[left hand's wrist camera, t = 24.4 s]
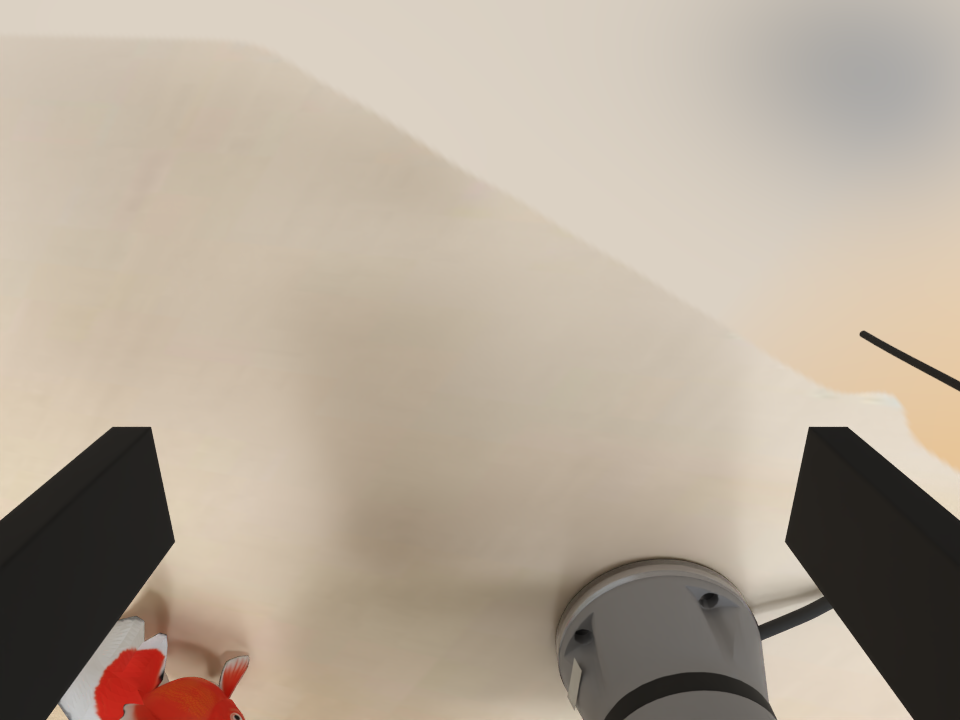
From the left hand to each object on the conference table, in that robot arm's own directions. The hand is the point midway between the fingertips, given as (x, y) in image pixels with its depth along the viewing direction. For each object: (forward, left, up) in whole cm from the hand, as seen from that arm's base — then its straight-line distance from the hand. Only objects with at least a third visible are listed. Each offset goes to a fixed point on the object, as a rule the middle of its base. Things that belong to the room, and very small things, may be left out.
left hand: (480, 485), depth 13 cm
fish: (+34, +22, -27) cm, 49 cm away
